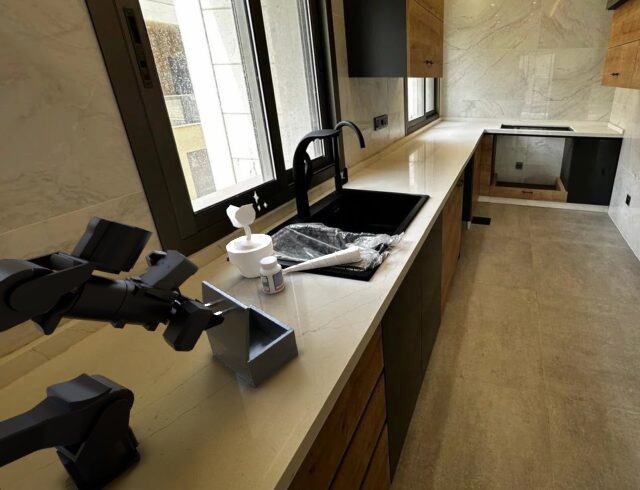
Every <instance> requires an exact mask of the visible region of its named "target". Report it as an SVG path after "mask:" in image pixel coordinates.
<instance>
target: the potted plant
mask: <svg viewBox="0 0 640 490" xmlns="http://www.w3.org/2000/svg"><path fill="white" fill-rule="evenodd" d="M252 197H253V198H254V199H255V202H256V203H258V200H259V196H258V195H257V193H256V192H254V196H252ZM253 205H254V203H249V204H245V205H241V206H240V207H237V206H235V205H232V204H230V205H229V207H227V209H226V215H227V216H228V219H229V220H230V222H231V224H232V226H233V227H235V228H237V229H242V228H243V230H244V234H245V235H243V236H240V237H237V238H235V239H233V240H231V241H230V242H229V243H228V244H227V245H226V252H227V256H228V260H229V261H228V262H229V263H230V264H232V265H234V266H235V267H236V268H237V269H238V271H239V272H240V273H241V275H242V277H245V278H249V279H251V278H258V277H261V276H260V269H261V268H262V267H261V264H260V261H261V260H262V259H263V258H266V257H270V256H272V255H273V254H274V253H275V251H274V246H273V240H272V238H271V236H270V235H268V234H264V233H252V230H251V227H250V226H249V225H251V224H253V223H254V221H255V220H256V211H255V209H254V207H253ZM263 206H264V207H265V208H267V206H268V204H267V203H266V202H264V204H263ZM257 208H258V211H259V212H260V210H261V207H260V205H258V206H257Z"/></svg>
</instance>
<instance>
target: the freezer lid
mask: <svg viewBox="0 0 640 490" xmlns="http://www.w3.org/2000/svg"><path fill="white" fill-rule="evenodd" d="M201 299H202V301H201V302H202V303H203V304H204V305H205V306H207V307H208V308H210V309H211V310H212V313H214V314H217V315H219V316H222V317H224V318H225V319H224V321H223V323H222V324H220V325H218V326H215V327H213V328H210V329H207V330H205V331H204V332H205V333H206V332H207V333H208V334H210V335H211V336H212V337H214V338H215V339H216V340H218V341H219V342H220V343H222V344H223V345H224V346H226V347H227V348H228V349H230V350H231V351H232V352H234V353H235V354H236V355H238V356H239V357H240V358H242V359H243V360H244V361H246V362H247V361H249V307H248V305H246V304H244V303H242V302H240V301H239V300H237V299H236V298H234V297H232V296H231V295H229V294H228V293H226V292H224V291H223V290H221V289H219V288H218V287H216V286H214V285H213V284H211V283H209V282H208V281H206V280H203V281H201ZM207 333H206V334H207Z"/></svg>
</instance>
